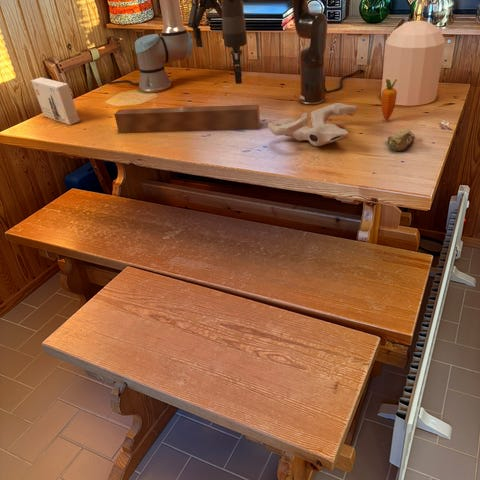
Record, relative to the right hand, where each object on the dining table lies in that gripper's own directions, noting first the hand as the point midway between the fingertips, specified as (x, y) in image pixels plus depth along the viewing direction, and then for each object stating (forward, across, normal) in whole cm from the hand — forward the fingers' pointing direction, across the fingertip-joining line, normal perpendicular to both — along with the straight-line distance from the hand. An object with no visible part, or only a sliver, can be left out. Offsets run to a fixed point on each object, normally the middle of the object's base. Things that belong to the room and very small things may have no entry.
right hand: (238, 79), depth 162 cm
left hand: (-8, +25, +9) cm, 28 cm away
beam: (+18, +4, +21) cm, 28 cm away
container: (+18, +19, -66) cm, 71 cm away
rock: (+18, -26, -51) cm, 60 cm away
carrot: (+18, -4, -52) cm, 55 cm away
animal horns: (+18, -20, -26) cm, 37 cm away
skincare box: (+17, +26, +78) cm, 84 cm away
